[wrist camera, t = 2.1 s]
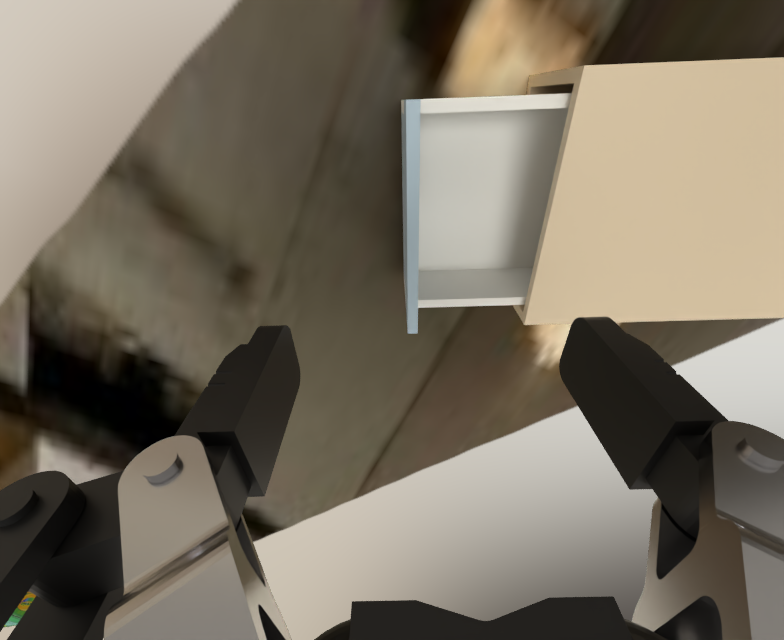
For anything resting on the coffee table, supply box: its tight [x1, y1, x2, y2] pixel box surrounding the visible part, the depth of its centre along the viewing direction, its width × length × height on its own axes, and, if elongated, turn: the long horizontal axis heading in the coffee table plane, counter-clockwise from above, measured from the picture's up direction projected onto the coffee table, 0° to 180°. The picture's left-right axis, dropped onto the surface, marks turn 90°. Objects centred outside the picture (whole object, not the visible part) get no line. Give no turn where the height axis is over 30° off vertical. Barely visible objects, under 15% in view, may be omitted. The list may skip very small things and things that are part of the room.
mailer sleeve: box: [513, 57, 784, 325], centre depth 21 cm, size 18×14×7 cm
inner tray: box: [401, 93, 572, 334], centre depth 20 cm, size 25×12×8 cm, turn 92°
